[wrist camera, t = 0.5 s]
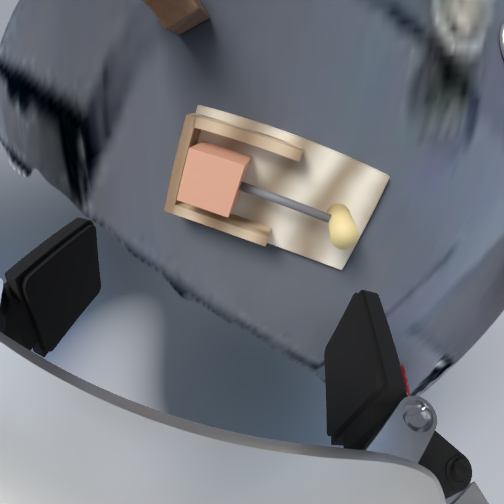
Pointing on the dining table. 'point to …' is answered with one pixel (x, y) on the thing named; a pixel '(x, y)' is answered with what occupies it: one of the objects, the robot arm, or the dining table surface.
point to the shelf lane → (280, 185)
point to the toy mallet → (247, 190)
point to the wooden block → (178, 13)
